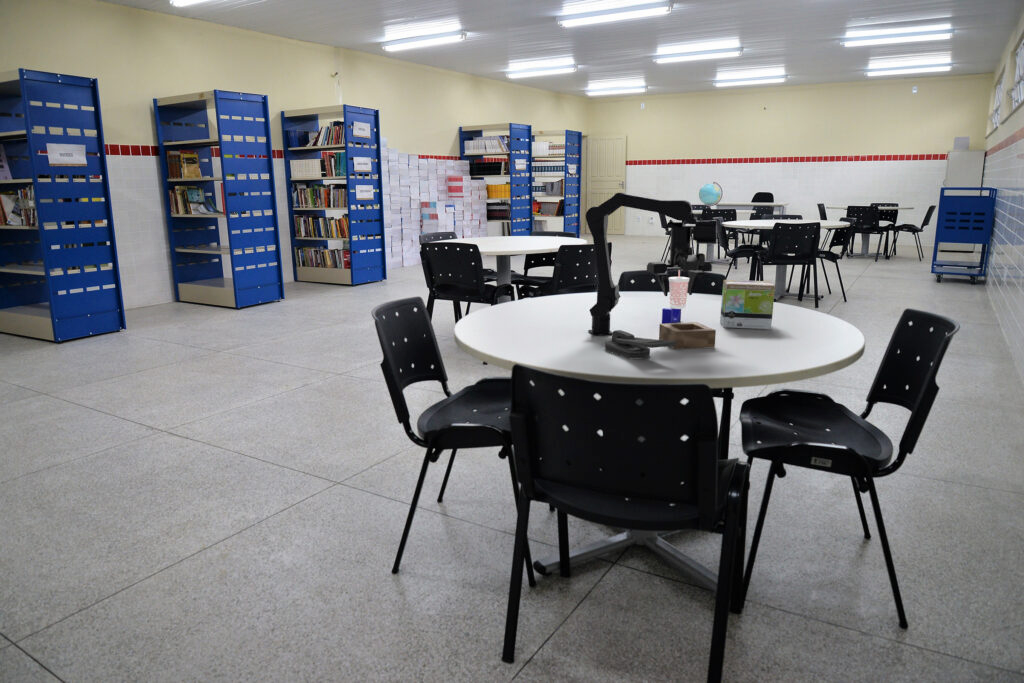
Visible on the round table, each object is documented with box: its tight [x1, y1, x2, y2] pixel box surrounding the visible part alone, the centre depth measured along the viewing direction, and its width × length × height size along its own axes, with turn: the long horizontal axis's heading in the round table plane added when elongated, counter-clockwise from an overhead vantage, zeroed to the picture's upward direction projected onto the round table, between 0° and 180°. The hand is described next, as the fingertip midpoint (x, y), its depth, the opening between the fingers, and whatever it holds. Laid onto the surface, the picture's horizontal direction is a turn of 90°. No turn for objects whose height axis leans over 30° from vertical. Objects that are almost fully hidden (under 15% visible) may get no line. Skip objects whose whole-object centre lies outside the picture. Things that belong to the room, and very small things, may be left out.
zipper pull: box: [604, 329, 676, 359], centre depth 185 cm, size 9×7×25 cm
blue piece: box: [661, 307, 682, 324], centre depth 228 cm, size 12×4×6 cm, turn 151°
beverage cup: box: [668, 270, 690, 310], centre depth 203 cm, size 6×6×14 cm
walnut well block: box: [658, 321, 717, 350], centre depth 199 cm, size 12×12×5 cm
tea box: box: [719, 279, 776, 331], centre depth 222 cm, size 15×10×15 cm
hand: (678, 295), depth 204 cm, fingers closed on beverage cup, 8 cm apart
